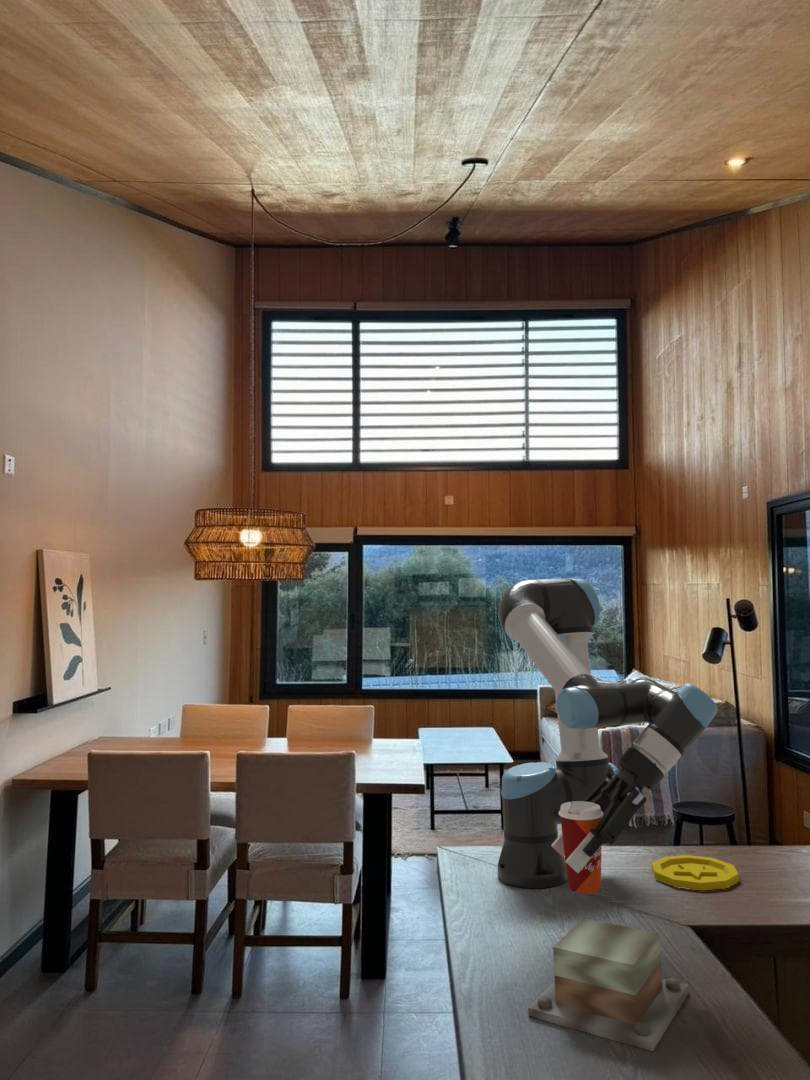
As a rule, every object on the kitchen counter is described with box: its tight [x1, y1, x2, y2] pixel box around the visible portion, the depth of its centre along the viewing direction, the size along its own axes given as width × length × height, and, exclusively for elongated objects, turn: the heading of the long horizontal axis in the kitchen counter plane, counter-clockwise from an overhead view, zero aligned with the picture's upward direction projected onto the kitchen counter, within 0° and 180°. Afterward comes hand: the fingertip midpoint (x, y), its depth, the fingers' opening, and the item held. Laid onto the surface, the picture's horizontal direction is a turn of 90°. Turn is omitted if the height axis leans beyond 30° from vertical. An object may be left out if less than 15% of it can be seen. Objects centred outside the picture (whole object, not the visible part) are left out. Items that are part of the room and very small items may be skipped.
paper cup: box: [559, 801, 603, 895], centre depth 139 cm, size 8×8×14 cm
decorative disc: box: [651, 854, 740, 891], centre depth 169 cm, size 17×18×2 cm
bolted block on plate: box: [527, 917, 690, 1052], centre depth 118 cm, size 18×18×9 cm
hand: (564, 858), depth 139 cm, fingers closed on paper cup, 8 cm apart
